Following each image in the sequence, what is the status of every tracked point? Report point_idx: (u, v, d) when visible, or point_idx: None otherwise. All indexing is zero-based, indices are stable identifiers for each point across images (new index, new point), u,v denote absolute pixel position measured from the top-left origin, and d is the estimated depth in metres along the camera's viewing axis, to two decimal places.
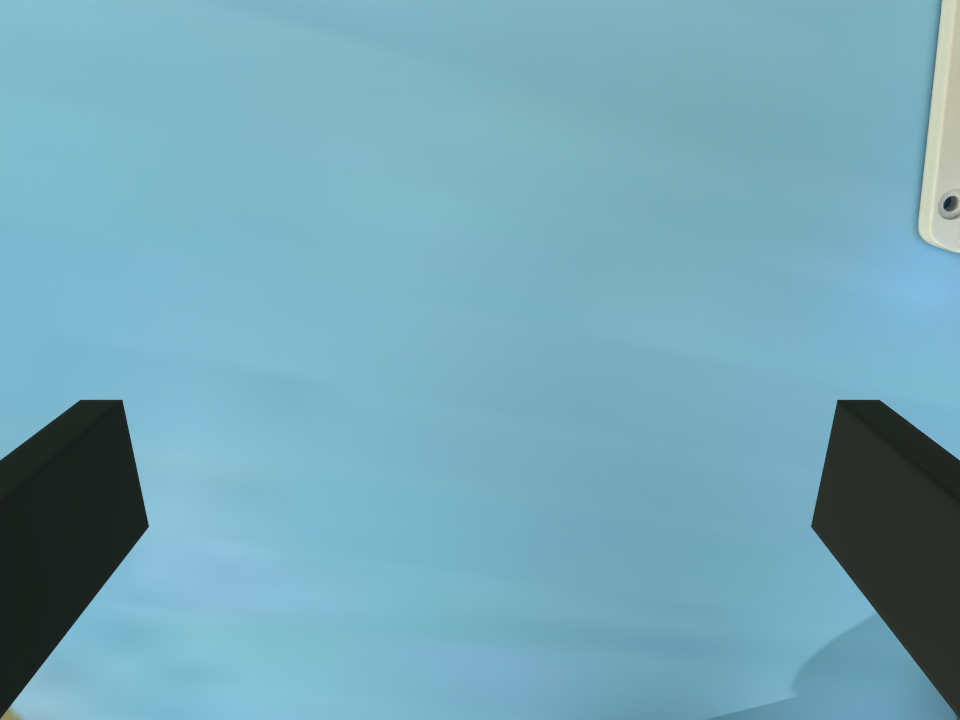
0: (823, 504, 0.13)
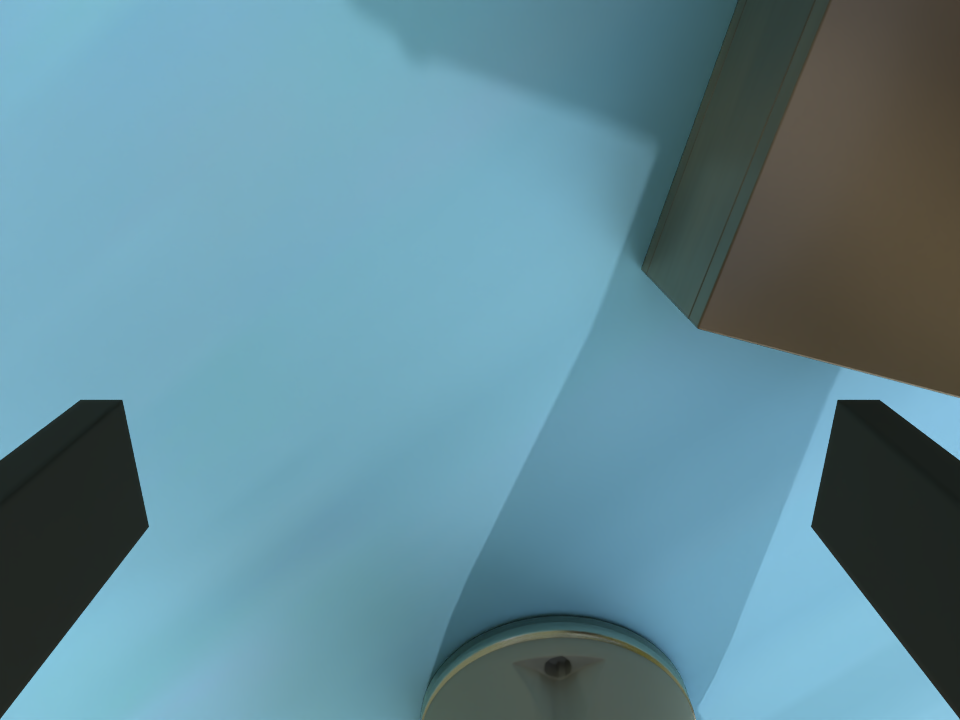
0: (824, 504, 0.13)
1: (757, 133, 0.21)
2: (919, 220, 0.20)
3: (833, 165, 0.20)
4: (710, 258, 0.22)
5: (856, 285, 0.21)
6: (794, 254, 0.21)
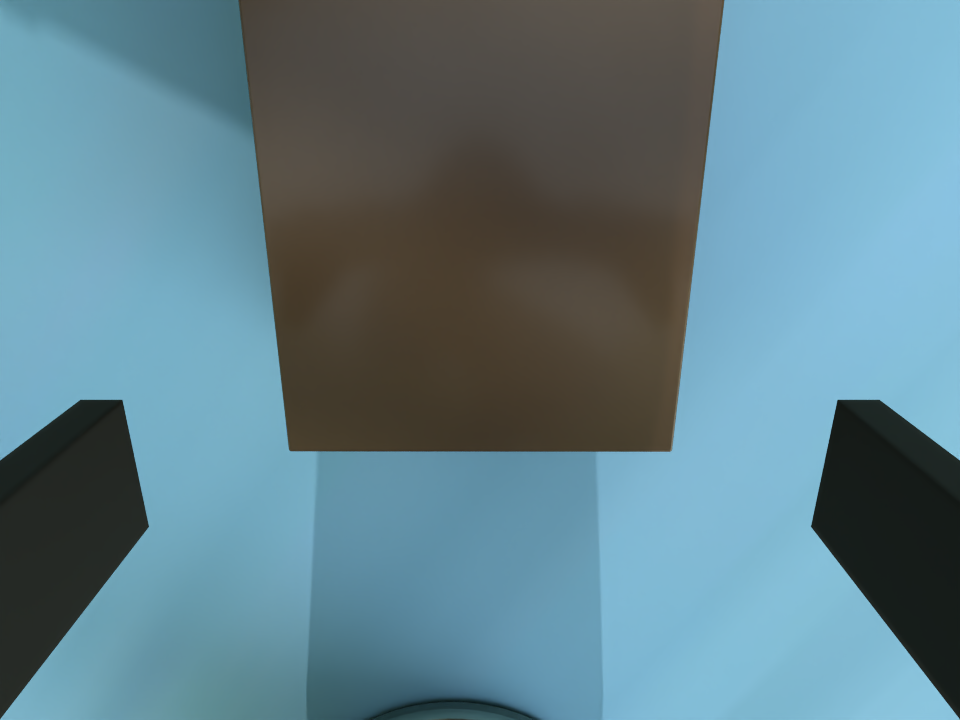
0: (824, 504, 0.13)
1: None
2: (465, 286, 0.18)
3: (343, 257, 0.18)
4: None
5: (433, 368, 0.19)
6: (350, 354, 0.19)
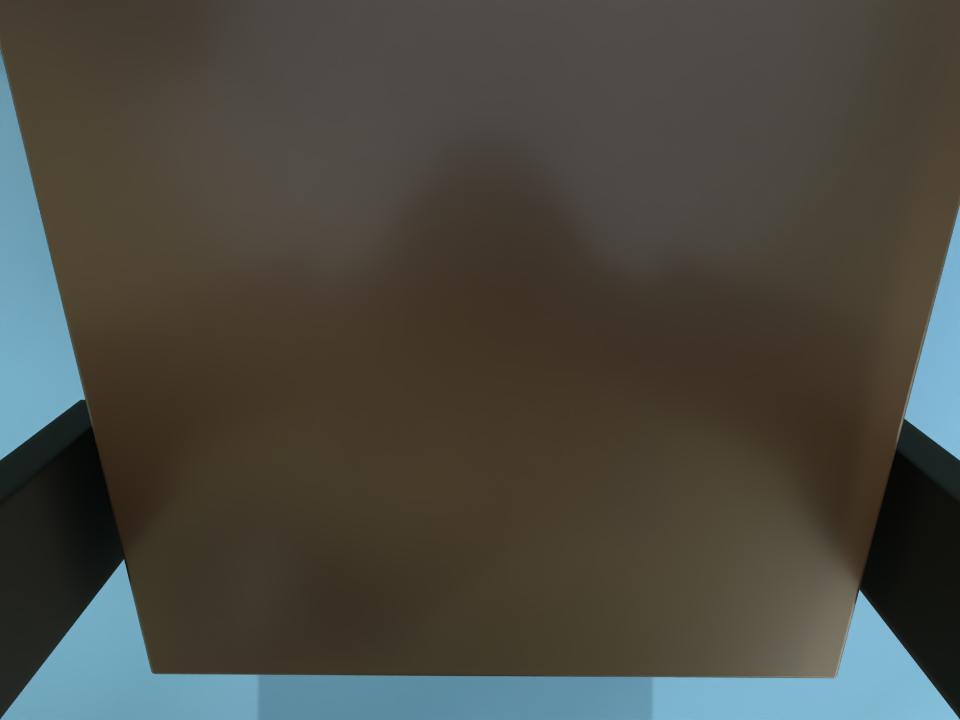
0: None
1: None
2: (464, 402, 0.09)
3: (221, 348, 0.09)
4: None
5: (405, 544, 0.10)
6: (248, 520, 0.10)
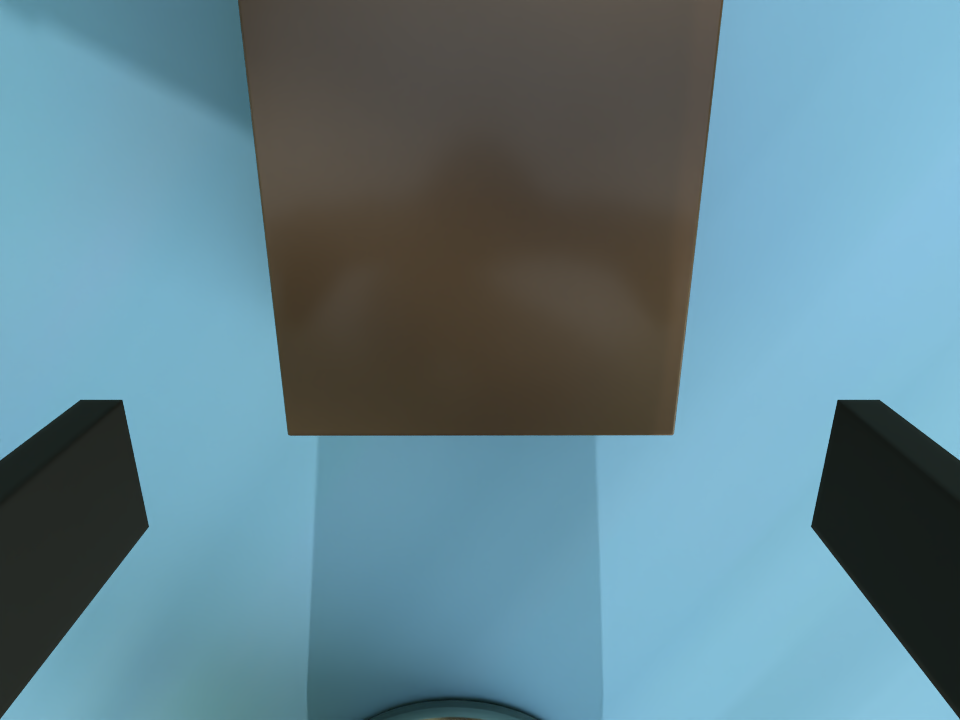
0: (823, 504, 0.13)
1: None
2: (465, 267, 0.18)
3: (341, 238, 0.18)
4: None
5: (433, 350, 0.19)
6: (349, 336, 0.19)
